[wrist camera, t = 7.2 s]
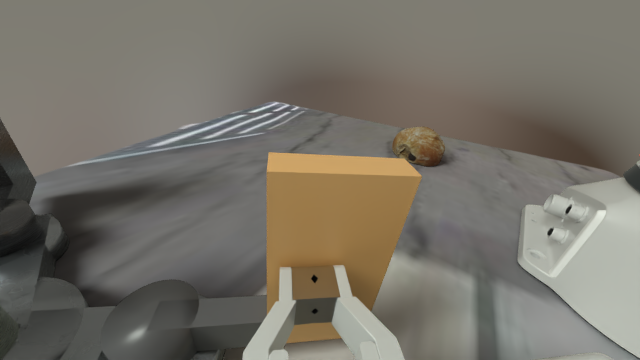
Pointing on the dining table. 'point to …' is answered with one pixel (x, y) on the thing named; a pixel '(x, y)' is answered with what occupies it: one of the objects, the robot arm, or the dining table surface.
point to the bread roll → (419, 146)
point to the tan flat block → (280, 257)
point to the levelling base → (42, 279)
